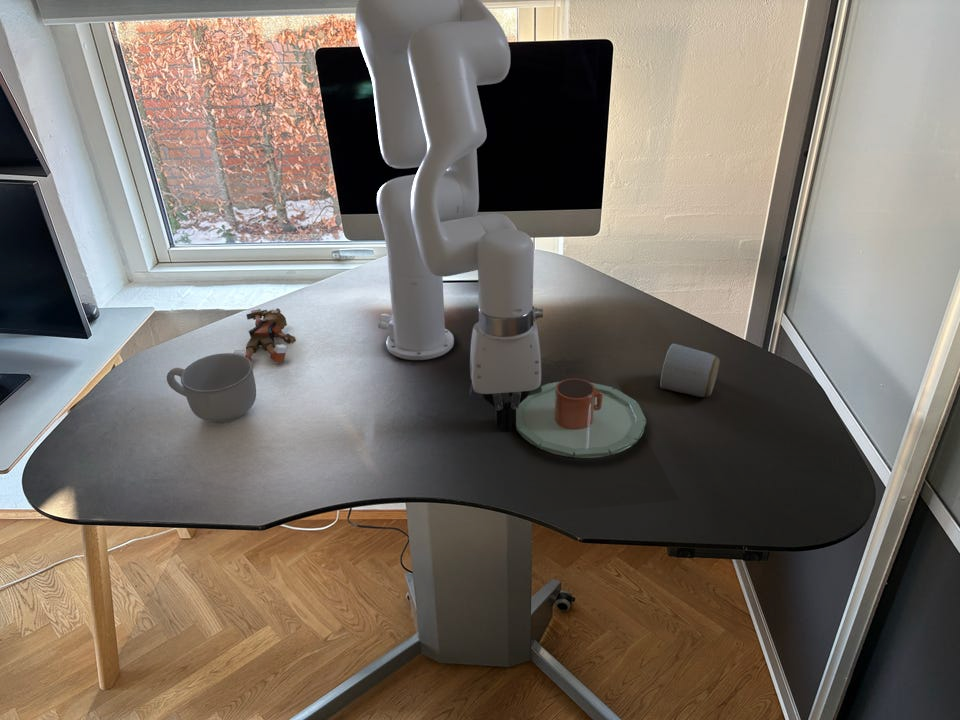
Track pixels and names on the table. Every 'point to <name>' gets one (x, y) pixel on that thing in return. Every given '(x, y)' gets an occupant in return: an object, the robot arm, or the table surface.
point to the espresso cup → (576, 403)
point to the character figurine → (267, 335)
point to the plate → (603, 437)
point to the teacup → (217, 386)
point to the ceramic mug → (689, 371)
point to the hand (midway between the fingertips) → (505, 426)
